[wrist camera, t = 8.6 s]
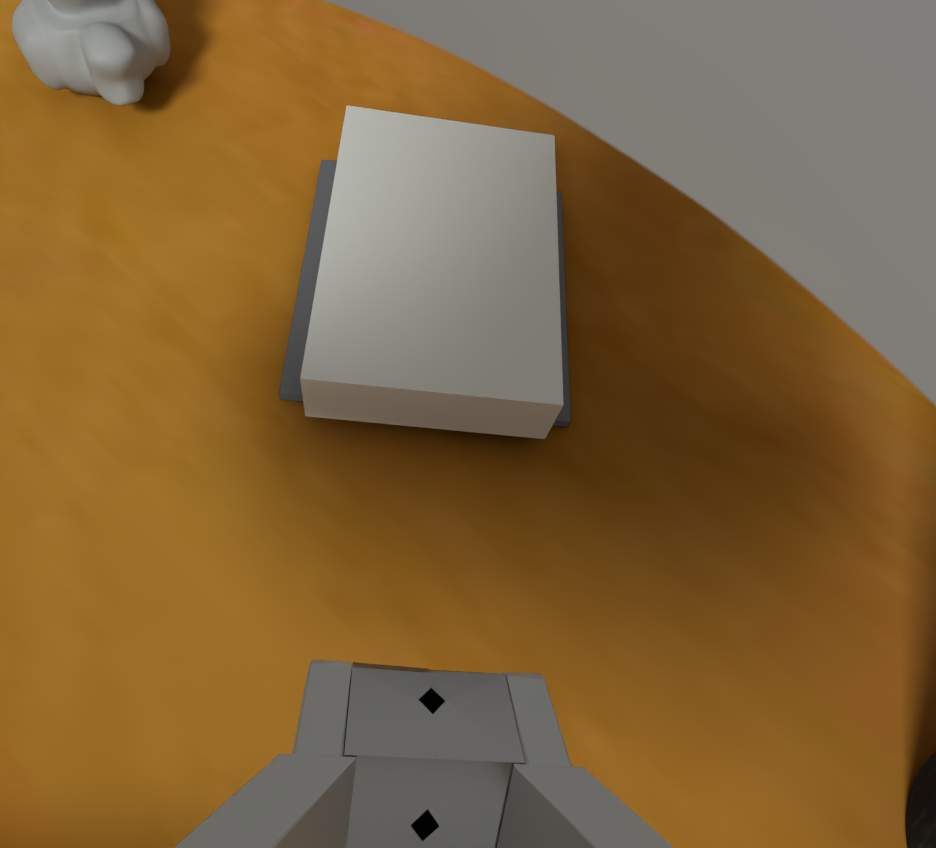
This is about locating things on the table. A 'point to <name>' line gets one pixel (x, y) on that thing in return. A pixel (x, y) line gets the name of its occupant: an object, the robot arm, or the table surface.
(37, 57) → the grey animal figurine
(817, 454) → the table surface
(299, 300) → the mat
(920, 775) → the travel mug
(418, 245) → the white flat box
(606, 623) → the table surface
